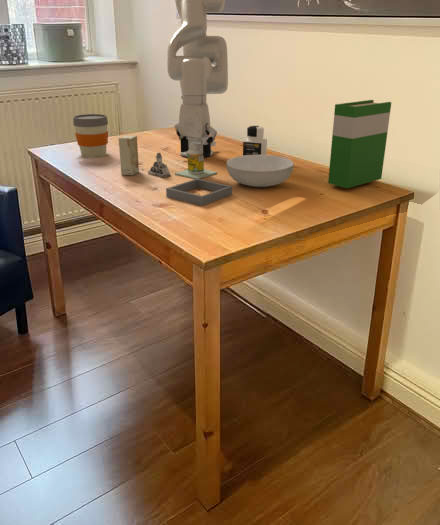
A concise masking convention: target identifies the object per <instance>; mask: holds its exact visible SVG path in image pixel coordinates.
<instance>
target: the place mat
mask: <svg viewBox="0 0 440 525" xmlns="http://www.w3.org/2000/svg"><path fill="white" fill-rule="evenodd" d="M216 174H218V172H217V171H215V170H214V171H213V170H208V169H204V172H203V173H201V174H190V173H189V172H188V169H184V170H181V171H179V172H178V171H177V172H175V173H174V175H175V176H180V177H184V178H188V179H191V180H194V179H201V180H202V179H203V178H207V177H211V176H213V175H216Z"/></svg>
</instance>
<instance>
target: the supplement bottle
mask: <svg viewBox="0 0 440 525" xmlns="http://www.w3.org/2000/svg"><path fill="white" fill-rule="evenodd" d="M189 148H190V149H189V150H188V151H187V157H186V158H187V170H188V172H189V173H190V174H201V173H203V172H204V170H205V169H204V168H205V166H204V165H205V164H204V163H205V160H204V159H205V157H203V150H202V149H200V148H201V143H189Z"/></svg>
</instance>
